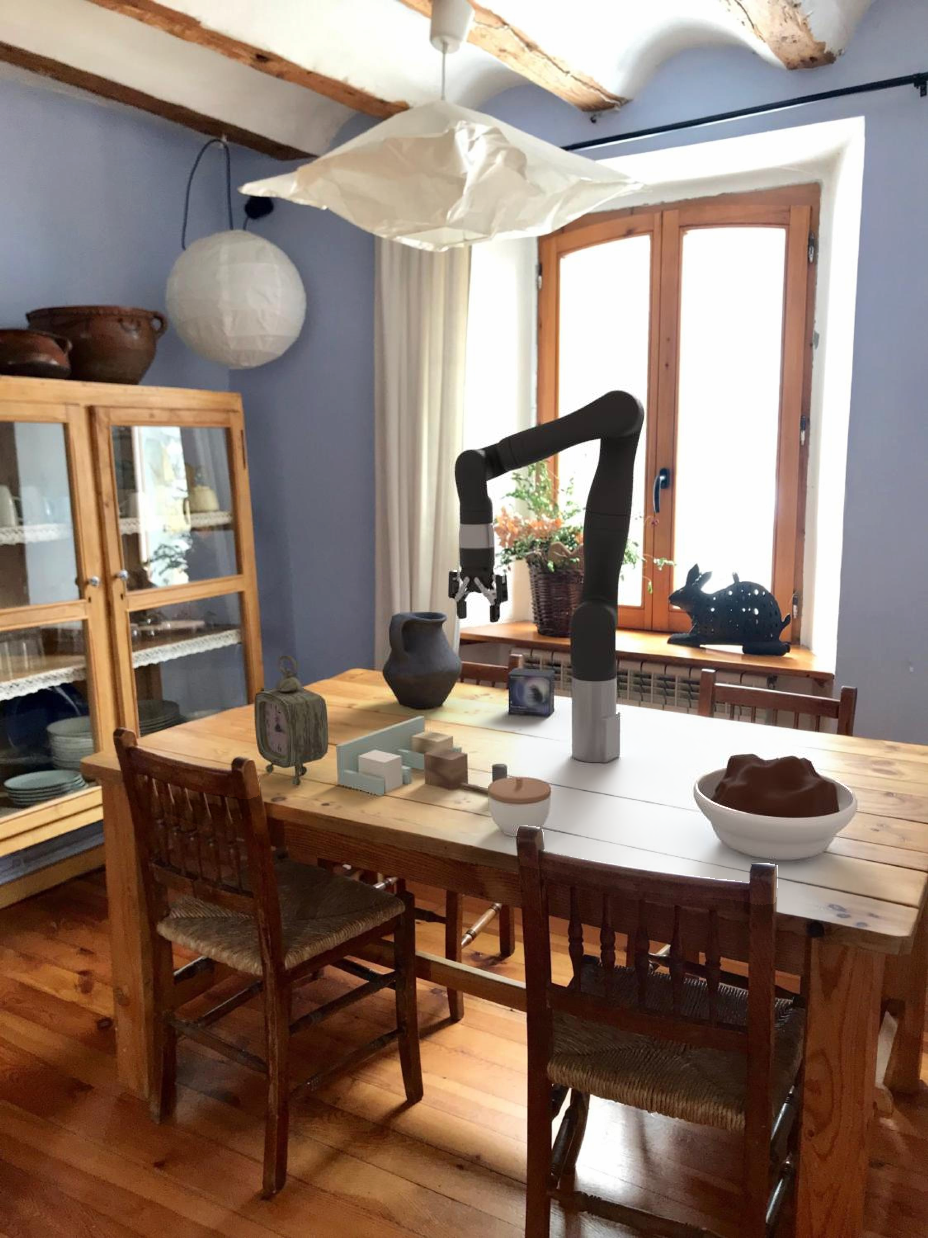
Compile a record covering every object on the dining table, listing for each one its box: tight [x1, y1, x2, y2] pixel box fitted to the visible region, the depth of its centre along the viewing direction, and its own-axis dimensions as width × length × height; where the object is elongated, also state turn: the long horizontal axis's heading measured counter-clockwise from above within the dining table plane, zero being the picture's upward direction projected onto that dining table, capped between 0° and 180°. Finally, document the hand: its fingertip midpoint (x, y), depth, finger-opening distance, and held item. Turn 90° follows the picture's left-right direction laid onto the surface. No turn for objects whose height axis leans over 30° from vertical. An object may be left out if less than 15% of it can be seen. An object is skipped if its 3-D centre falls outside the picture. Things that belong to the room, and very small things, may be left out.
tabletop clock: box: [253, 654, 329, 786], centre depth 191 cm, size 14×9×25 cm, turn 40°
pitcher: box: [381, 611, 463, 711], centre depth 243 cm, size 21×22×25 cm
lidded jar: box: [487, 776, 552, 838], centre depth 163 cm, size 11×11×9 cm
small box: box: [507, 667, 555, 718], centre depth 236 cm, size 11×6×10 cm, turn 73°
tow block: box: [423, 748, 508, 796], centre depth 184 cm, size 18×5×6 cm, turn 52°
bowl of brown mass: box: [692, 753, 858, 861], centre depth 154 cm, size 25×25×15 cm
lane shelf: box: [335, 715, 463, 797], centre depth 194 cm, size 11×25×8 cm, turn 142°
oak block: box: [412, 730, 454, 754], centre depth 199 cm, size 7×5×6 cm
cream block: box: [358, 750, 403, 793], centre depth 187 cm, size 7×5×6 cm
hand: (478, 620), depth 206 cm, fingers open, 8 cm apart
